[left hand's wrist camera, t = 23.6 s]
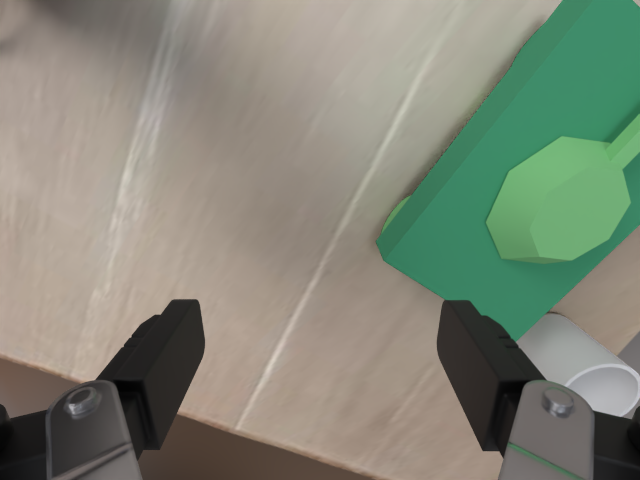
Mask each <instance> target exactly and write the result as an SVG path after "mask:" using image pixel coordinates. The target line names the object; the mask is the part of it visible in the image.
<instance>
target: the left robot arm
mask: <svg viewBox="0 0 640 480" xmlns="http://www.w3.org/2000/svg"><path fill="white" fill-rule="evenodd" d="M204 349H205V337H204V330H203V323H202V317H201V310H200V304H199V302H198V300H196V299H174V300H172V301H171V302H170V303H169V304H168V306H167V307H166V308H165V310H164V311H163V312H162V314H161V315H154V316H152V317H151V318H149V319H148V320H146V321H145V322H143V323H142V324H141V325H140V326H139V327H138V328H137V330H136V331H135V332H134V333H133V334H132V337H131V338H129V339H128V341H127V342H126V343H125V344H124V347H122V348H121V349H120V350H119V352H118V353H117V354H116V355H115V356H114V358H113V359H112V360H111V361H110V363H109V364H108V365H107V366H106V367H105V369H104V370H103V371H102V372H101V374H100V375H99V376H98V377H97V378H96V380H94V381H89V382H85V383H82V384H79V385H77V386H75V387H73V388H71V389H69V390H67V391H66V392H64V393H63V394H61V395H60V396H59V397H58V398H57V399H55V400H54V402H53V403H52V404H51V405H50V406H49V408H48V410H44V411H40V412H36V413H31V414H27V415H23V416H19V417H14V418H9V415H8V413H7V411H6V409H5V407H4V406H3V405H1V404H0V480H142V477H141V473H140V470H139V466H138V462H137V461H138V459H139V457H140V455H141V453H142V451H143V450H160V448H161V446H162V444H163V442H164V440H165V437H166V435H167V433H168V431H169V429H170V427H171V425H172V422H173V420H174V418H175V416H176V414H177V412H178V410H179V407H180V405H181V403H182V401H183V399H184V397H185V394H186V392H187V390H188V388H189V386H190V384H191V382H192V379H193V377H194V375H195V373H196V371H197V369H198V366H199V364H200V362H201V360H202V358H203V354H204ZM437 351H438V356H439V359H440V361H441V363H442V365H443V368H444V370H445V372H446V374H447V376H448V378H449V380H450V382H451V385H452V387H453V389H454V391H455V393H456V395H457V397H458V399H459V402H460V404H461V406H462V408H463V410H464V412H465V414H466V416H467V419H468V421H469V423H470V425H471V427H472V429H473V431H474V433H475V436H476V438H477V440H478V442H479V444H480V446H481V448H482V450H483V451H500V453H501V455H502V457H503V462H502V466H501V470H500V473H499V477H498V480H640V406H639V407H638V408H637V409H636V411H635V413H634V415H633V418H632V419H627V418H623V417H619V416H615V415H610V414H606V413H602V412H598V411H594V410H592V408H591V406H590V405H589V404H588V403H587V401H586V400H585V399H583V398H582V397H581V396H580V395H579V394H577V393H576V392H574V391H573V390H571V389H569V388H567V387H565V386H563V385H561V384H558V383H555V382H551V381H547V380H546V378H545V377H544V376H543V375H542V374H541V372H540V371H539V370H538V369H537V368H536V366H535V365H534V364H533V363H532V361H531V360H530V359H529V358H528V357H527V355H526V354H525V353H524V352H523V351H522V349H521V348H519V346H518V344H517V343H516V342H515V341H514V340H513V339H511V336H510V335H509V334H508V332H507V331H506V330H505V329H504V328H503V326H502V325H501V324H499V323H498V322H496V321H495V320H493V319H492V318H490V317H489V316H487V315H481V314H480V313H479V312H478V310H477V309H476V308H475V306H474V305H473V304H472V302H471V301H469V300H445V301H444V302H443V304H442V309H441V316H440V323H439V329H438V336H437Z"/></svg>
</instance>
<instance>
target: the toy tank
mask: <svg viewBox="0 0 640 480" xmlns="http://www.w3.org/2000/svg"><path fill="white" fill-rule="evenodd" d="M639 225H640V7H639V6H638V5H637V4H636V3H635V2H634V1H633V0H563V1H562V2H561V3H560V4H559V6H558V7H557V8H556V10H555V11H554V12H553V13H552V15H551V16H550V17H549V19H548V20H547V21H546V22H545V23H544V24H543V25H542V26H541V27H540V28H539V29H538V30H537V31H536V32H535V33H534V34H533V35H532V36H531V38H530V39H529V40H528V41H527V42H526V44H525V45H524V46H523V47H522V49H521V50H520V52H519V53H518V54H517V56H516V58H515V60H514V61H513V63H512V66H511V68H510V69H509V70H508V71H507V73H506V74H505V75H504V77H503V78H502V79H501V80H500V82H499V83H498V84H497V86H496V87H495V88H494V89H493V91H492V92H491V93H490V95H489V96H488V97H487V98H486V100H485V101H484V102H483V104H482V105H481V106H480V107H479V109H478V110H477V111H476V113H475V114H474V115H473V117H472V118H471V119H470V120H469V122H468V123H467V124H466V126H465V127H464V128H463V129H462V131H461V132H460V133H459V135H458V136H457V137H456V138H455V140H454V141H453V142H452V144H451V145H450V146H449V147H448V149H447V150H446V151H445V153H444V154H443V155H442V156H441V158H440V159H439V160H438V162H437V163H436V164H435V165H434V167H433V168H432V169H431V171H430V172H429V173H428V174H427V176H426V177H425V178H424V180H423V181H422V182H421V184H420V185H419V186H418V187H417V189H416V190H415V191H414V193H413V194H412V195H411V196H408V197H407V198H405V199H403V200H402V201H401V202H400V203H399V204H398V205H397V206H396V207H395V209H394V210H393V211H392V212H391V214H390V215H389V217H388V218H387V220H386V222H385V224H384V226H383V229H382V231H381V235H380V236H379V238H378V239H377V240H376V243H377V246H378V248H379V251H380V253H381V255H382V258H383V260H384V261H385V262H386V263H388V264H389V265H391V266H393V267H394V268H396V269H397V270H399V271H401V272H402V273H404V274H405V275H407V276H409V277H410V278H412V279H413V280H415V281H417V282H418V283H420V284H421V285H423V286H424V287H426V288H428V289H429V290H431V291H432V292H434V293H436V294H437V295H439V296H440V297H442V298H444V299H445V300H469V301H471V302H472V304H473V305H474V306H475V308H476V309H477V310H478V312H479V313H480V314H481V315H487V316H489V317H490V318H492V319H493V320H495V321H496V322H498V323H499V324H501V325H502V326H503V328H504V329H505V330H506V331H507V332H508V334H509V335H510V336H511V339H513V340H514V341H515V342H516V341H517V340H518V339H520V338H521V337H522V336H523V335H524V334H525V333H526V332H527V331H528V330H529V329H530V328H531V327H532V326H533V325H534V324H535V323H536V322H537V321H539V320H540V319H541V318H542V317H543V316H544V315H545V314H546V313H547V312H548V311H549V310H550V309H551V308H552V307H553V306H554V305H555V304H556V303H558V302H559V301H560V300H561V299H562V298H563V297H564V296H565V295H566V294H567V293H568V292H569V291H570V290H571V289H572V288H573V287H574V286H575V285H577V284H578V283H579V282H580V281H581V280H582V279H583V278H584V277H585V276H586V275H587V274H588V273H589V272H590V271H591V270H592V269H593V268H594V267H596V266H597V265H598V264H599V263H600V262H601V261H602V260H603V259H604V258H605V257H606V256H607V255H608V254H609V253H610V252H611V251H612V250H613V249H615V248H616V247H617V246H618V245H619V244H620V243H621V242H622V241H623V240H624V239H625V238H626V237H627V236H628V235H629V234H630V233H631V232H632V231H634V230H635V229H636V228H637V227H638V226H639Z"/></svg>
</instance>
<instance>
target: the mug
mask: <svg viewBox="0 0 640 480" xmlns="http://www.w3.org/2000/svg"><path fill="white" fill-rule="evenodd" d="M516 343H517V344H518V346H519V348H521V349H522V351H523V352H524V353H525V354H526V355H527V357H528V358H529V359H530V360H531V361H532V363H533V364H534V365H535V366H536V368H537V369H538V370H539V371H540V372H541V374H542V375H543V376H544V377H545V378H546V380H547V381H551V382H555V383H558V384H561V385H563V386H565V387H567V388H569V389H571V390H573V391H574V392H576V393H577V394H579V395H580V396H581V397H582V398H583V399H585V400H586V401H587V403H588V404H589V405H590V406H591V408H592V410H594V411H598V412H602V413H606V414H610V415H615V416H619V417H622V416H623V415H625V414H626V413H628V412H629V411H630V410H631V409H632V408H633V407H634V406H635V405H636V403H637V401H638V400H639V398H640V376H639V374H638V373H637V372H636V371H634V370H633V369H632V368H631V367H630V366H628V365H627V364H626V363H625V362H623V361H622V360H621V359H619V358H618V357H617V356H616V355H614V354H613V353H612V352H610V351H609V350H608V349H606V348H605V347H604V346H603V345H601V344H600V343H599V342H597V341H596V340H595V339H594V338H592V337H591V336H590V335H588V334H587V333H586V332H584V331H583V330H582V329H581V328H579V327H578V326H577V325H575V324H574V323H573V322H572V321H570V320H569V319H568V318H566V317H565V316H563V315H560V314H556V313H546V314H545V315H544V316H543V317H542V318H541V319H540V320H539V321H537V322H536V323H535V324H534V325H533V326H532V327H531V328H530V329H529V330H528V331H527V332H526V333H525V334H524V335H523V336H522V337H521V338H520V339H518V340H517V341H516Z"/></svg>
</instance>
